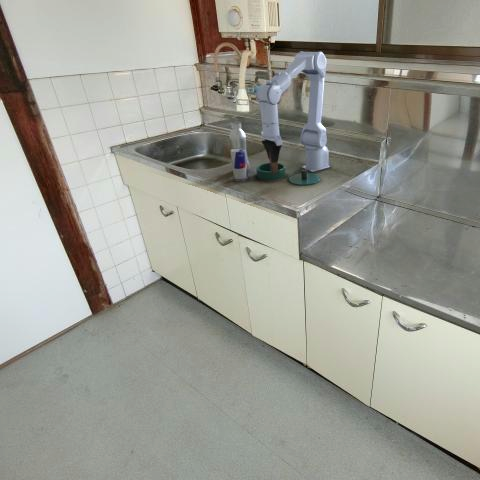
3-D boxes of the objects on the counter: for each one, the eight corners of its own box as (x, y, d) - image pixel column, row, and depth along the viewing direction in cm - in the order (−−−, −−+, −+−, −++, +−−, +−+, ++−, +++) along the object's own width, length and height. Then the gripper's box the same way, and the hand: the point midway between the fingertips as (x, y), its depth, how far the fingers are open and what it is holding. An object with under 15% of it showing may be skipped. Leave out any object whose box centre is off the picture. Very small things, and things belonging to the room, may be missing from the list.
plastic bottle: (253, 171, 151) (248, 122, 141) (240, 175, 147) (233, 125, 137) (244, 168, 155) (238, 120, 145) (231, 172, 151) (224, 123, 141)
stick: (270, 171, 134) (268, 152, 130) (276, 170, 135) (274, 151, 131) (272, 173, 132) (271, 153, 129) (278, 172, 133) (276, 152, 129)
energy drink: (246, 182, 141) (242, 152, 135) (233, 182, 141) (228, 152, 135) (249, 177, 145) (245, 147, 139) (236, 177, 146) (231, 148, 139)
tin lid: (307, 173, 148) (307, 162, 146) (326, 181, 140) (326, 170, 138) (283, 180, 142) (282, 169, 139) (301, 189, 133) (301, 178, 131)
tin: (275, 169, 153) (274, 160, 150) (290, 176, 145) (290, 167, 143) (252, 176, 146) (251, 166, 144) (267, 183, 139) (266, 174, 137)
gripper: (252, 120, 128) (256, 157, 135) (267, 128, 117) (270, 168, 124) (270, 117, 131) (273, 154, 138) (287, 125, 120) (289, 164, 127)
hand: (273, 160), depth 131 cm, fingers closed on stick, 2 cm apart
